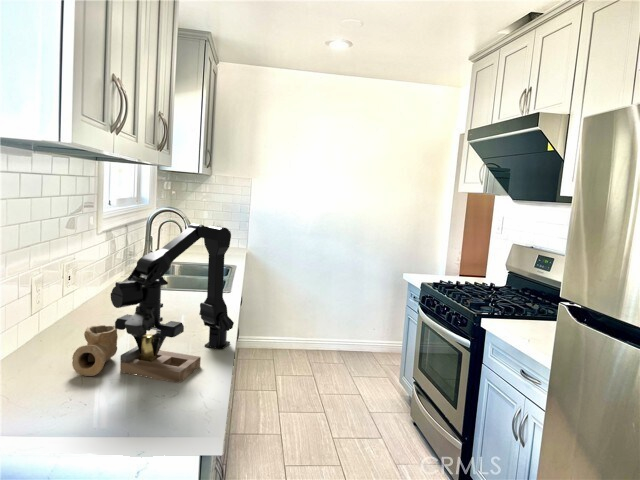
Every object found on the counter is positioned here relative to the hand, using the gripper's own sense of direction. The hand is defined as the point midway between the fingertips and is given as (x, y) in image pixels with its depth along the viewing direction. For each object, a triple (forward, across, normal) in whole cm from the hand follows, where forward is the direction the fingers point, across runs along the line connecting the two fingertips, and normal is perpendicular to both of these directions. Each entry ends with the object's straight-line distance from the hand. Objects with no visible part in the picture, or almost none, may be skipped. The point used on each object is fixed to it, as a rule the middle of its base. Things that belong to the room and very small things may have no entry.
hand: (148, 354), depth 135 cm
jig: (+4, +4, 0) cm, 6 cm away
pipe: (+4, -14, -5) cm, 15 cm away
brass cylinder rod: (+3, 0, 0) cm, 3 cm away
